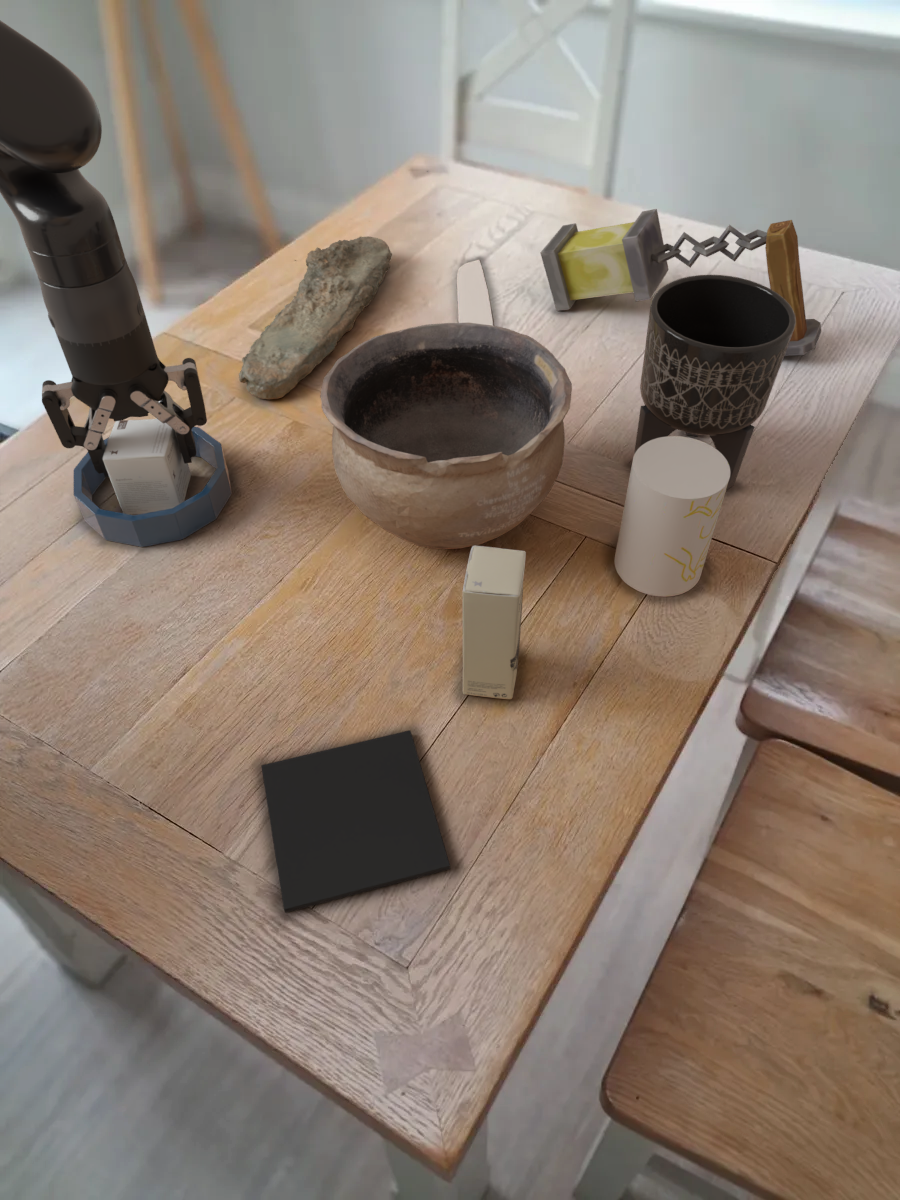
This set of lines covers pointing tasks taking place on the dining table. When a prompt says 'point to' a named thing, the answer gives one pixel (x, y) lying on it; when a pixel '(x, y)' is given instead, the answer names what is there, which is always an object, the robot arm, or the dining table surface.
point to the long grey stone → (315, 315)
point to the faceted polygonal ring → (162, 522)
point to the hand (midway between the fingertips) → (148, 464)
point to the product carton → (146, 466)
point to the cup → (670, 514)
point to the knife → (473, 295)
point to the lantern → (666, 265)
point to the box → (492, 621)
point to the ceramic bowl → (447, 430)
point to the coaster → (351, 820)
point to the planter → (712, 360)
